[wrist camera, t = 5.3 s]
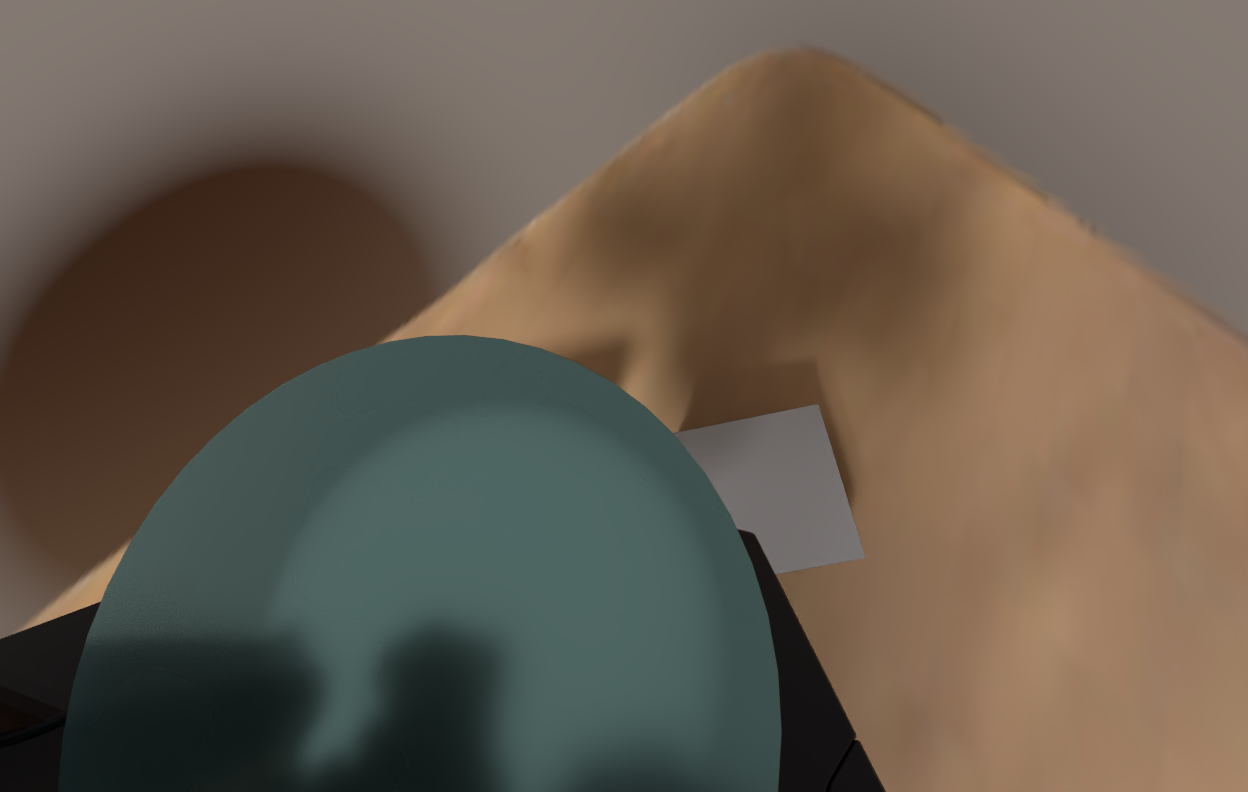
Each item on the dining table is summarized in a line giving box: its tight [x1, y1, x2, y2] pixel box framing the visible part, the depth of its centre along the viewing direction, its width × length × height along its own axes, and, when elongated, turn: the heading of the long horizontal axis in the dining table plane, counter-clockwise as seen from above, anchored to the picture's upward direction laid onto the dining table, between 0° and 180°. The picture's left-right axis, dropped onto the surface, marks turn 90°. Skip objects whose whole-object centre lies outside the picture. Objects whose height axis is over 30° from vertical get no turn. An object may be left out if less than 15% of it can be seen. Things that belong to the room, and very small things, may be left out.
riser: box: [673, 404, 865, 574], centre depth 20 cm, size 6×6×3 cm
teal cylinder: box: [58, 335, 782, 792], centre depth 8 cm, size 5×5×10 cm
